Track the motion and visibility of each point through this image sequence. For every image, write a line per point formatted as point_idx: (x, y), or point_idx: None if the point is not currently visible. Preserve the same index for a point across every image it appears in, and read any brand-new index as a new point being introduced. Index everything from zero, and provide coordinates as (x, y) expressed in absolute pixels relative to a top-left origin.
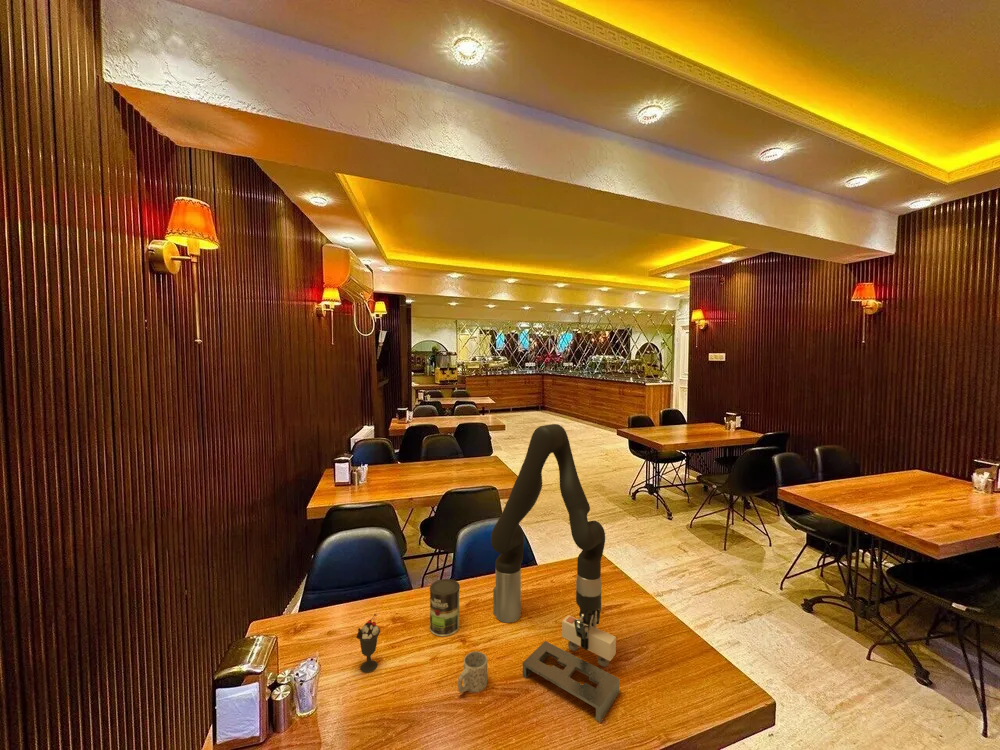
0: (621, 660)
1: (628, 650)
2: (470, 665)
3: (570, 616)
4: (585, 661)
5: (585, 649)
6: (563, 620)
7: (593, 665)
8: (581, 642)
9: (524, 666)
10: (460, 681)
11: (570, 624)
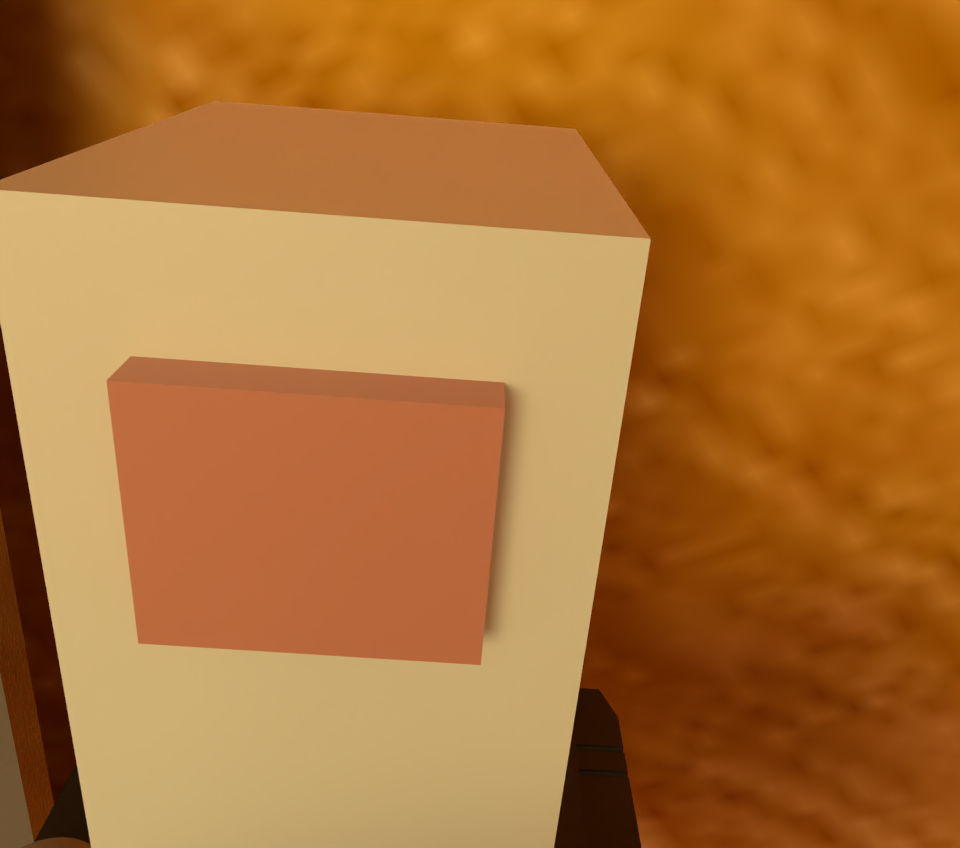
0: (655, 823)
1: (887, 837)
2: None
3: (602, 369)
4: (11, 734)
5: None
6: (74, 227)
7: (31, 842)
8: None
9: None
10: None
11: (82, 586)
